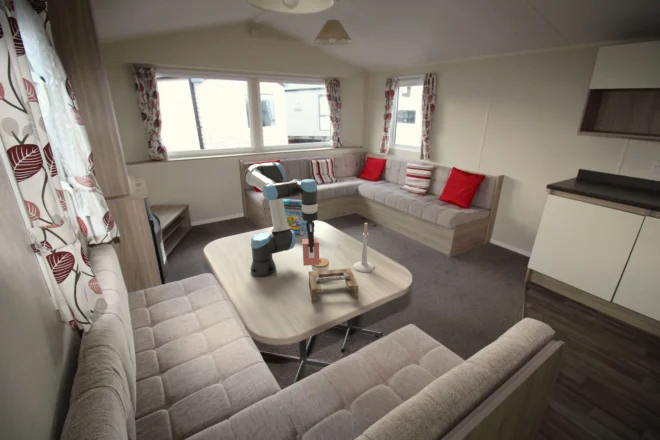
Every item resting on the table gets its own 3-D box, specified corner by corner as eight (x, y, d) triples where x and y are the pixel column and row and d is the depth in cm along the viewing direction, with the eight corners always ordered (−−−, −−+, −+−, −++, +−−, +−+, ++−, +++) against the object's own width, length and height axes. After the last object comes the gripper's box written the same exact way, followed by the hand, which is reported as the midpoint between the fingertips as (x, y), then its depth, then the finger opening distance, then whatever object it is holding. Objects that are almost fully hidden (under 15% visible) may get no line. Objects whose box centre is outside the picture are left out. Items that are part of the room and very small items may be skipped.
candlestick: (378, 268, 189) (381, 224, 179) (361, 274, 183) (363, 228, 173) (365, 260, 200) (368, 217, 189) (349, 265, 194) (351, 221, 183)
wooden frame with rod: (312, 302, 156) (311, 286, 153) (308, 283, 173) (308, 268, 170) (357, 298, 160) (358, 282, 157) (350, 280, 177) (350, 265, 173)
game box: (282, 233, 241) (280, 200, 231) (284, 230, 246) (283, 198, 237) (307, 235, 237) (306, 202, 228) (309, 232, 243) (308, 200, 234)
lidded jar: (316, 279, 178) (315, 265, 174) (308, 271, 187) (308, 257, 183) (332, 275, 182) (332, 261, 179) (324, 267, 191) (324, 253, 188)
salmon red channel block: (303, 265, 154) (302, 243, 150) (303, 260, 159) (302, 239, 155) (319, 264, 154) (319, 242, 150) (318, 259, 160) (318, 238, 156)
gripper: (319, 217, 139) (320, 262, 147) (316, 205, 157) (317, 246, 165) (302, 218, 138) (304, 263, 146) (301, 206, 156) (303, 247, 164)
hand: (311, 254), depth 155 cm, fingers closed on salmon red channel block, 6 cm apart
